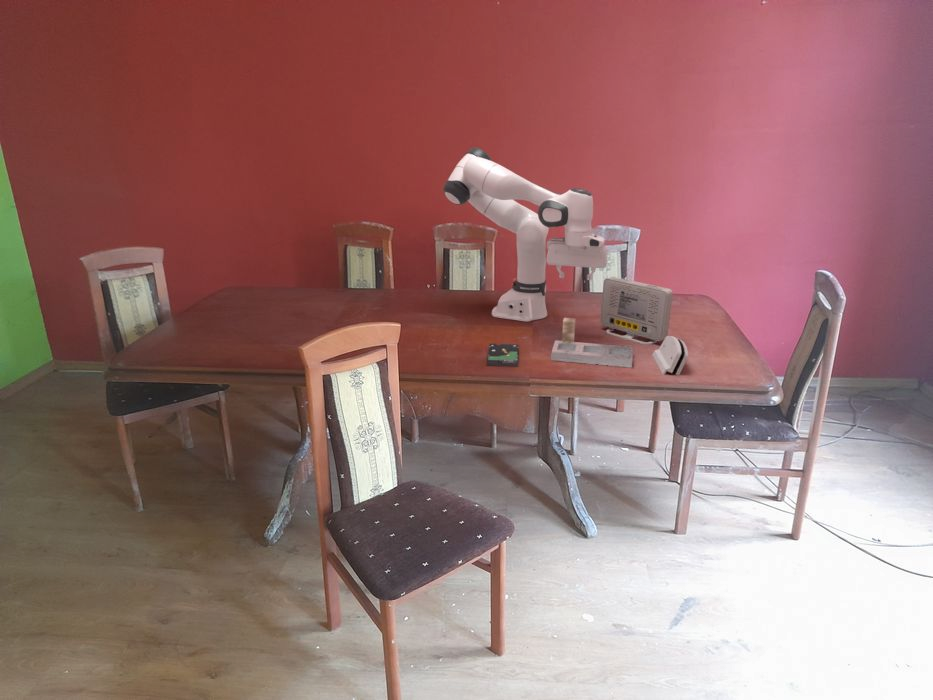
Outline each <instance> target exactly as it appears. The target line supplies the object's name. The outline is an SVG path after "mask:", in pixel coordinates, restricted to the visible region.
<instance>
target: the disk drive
mask: <svg viewBox="0 0 933 700" xmlns="http://www.w3.org/2000/svg"><path fill="white" fill-rule="evenodd" d="M519 346H520V344H515V343H514V344H513V343H512V344H511V343H502V344H497V343H489V346H488V351H487V356H486V357H487V358H486V366H487V367H507V368H509V367H513V368H514V367H515V368H518V367H519Z"/></svg>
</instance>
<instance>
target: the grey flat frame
mask: <svg viewBox="0 0 933 700" xmlns="http://www.w3.org/2000/svg"><path fill="white" fill-rule="evenodd" d="M633 353H634V351H633V346H629V345H628V346H626V345H613V344H604V343H603V344H602V343H590V342H581V341H580V342H579V341H578V342H577V341H574V342H569V341H562V340H558V339H556V340H554V343H553V346H552V350H551V355H550V357H551V358H550V361H556V362H566V363H575V364H576V363H578V364H585V363H586V364H589V365H596V364H598V365H600V366H607V365H608V366H609V367H617V368H618V367H620V368H629V369H630V368H631V369H632V368H633V361H634V355H633Z"/></svg>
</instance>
